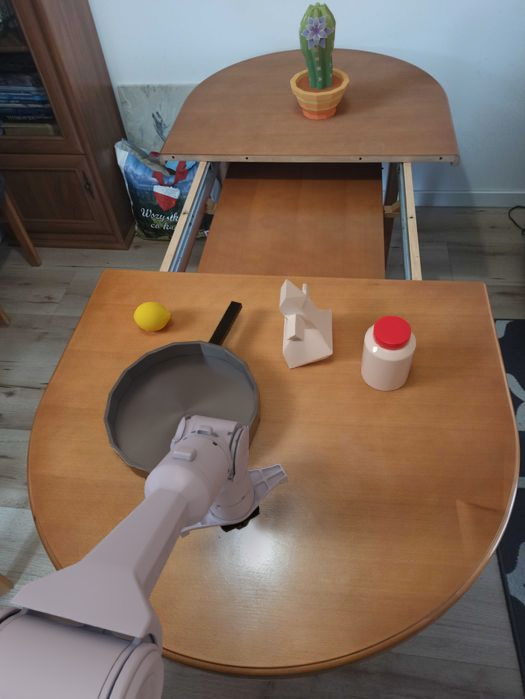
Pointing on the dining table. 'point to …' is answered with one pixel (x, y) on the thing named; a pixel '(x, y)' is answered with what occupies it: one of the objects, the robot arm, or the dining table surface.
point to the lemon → (151, 316)
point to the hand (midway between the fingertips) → (240, 521)
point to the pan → (178, 395)
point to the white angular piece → (304, 327)
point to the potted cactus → (318, 65)
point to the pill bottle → (387, 353)
